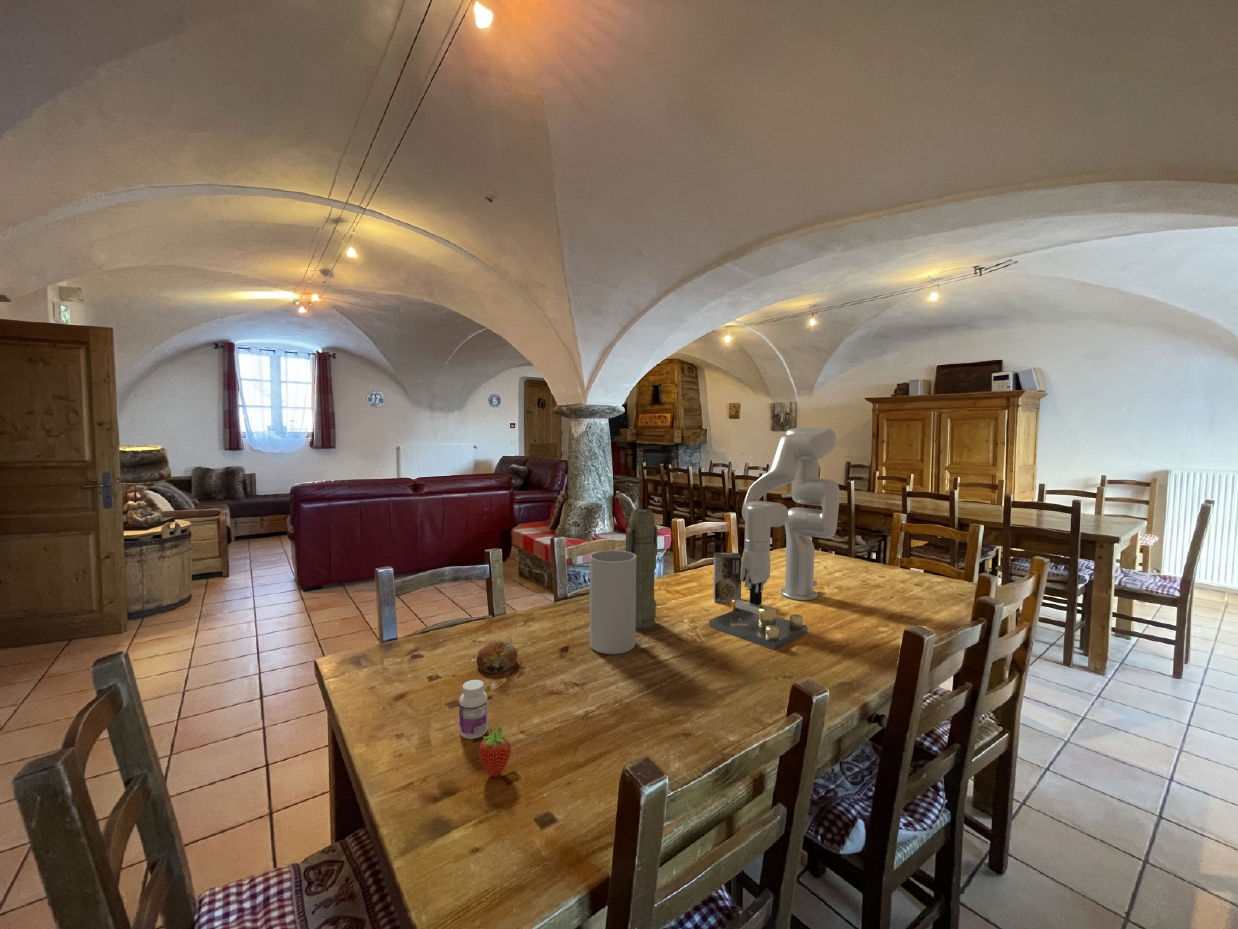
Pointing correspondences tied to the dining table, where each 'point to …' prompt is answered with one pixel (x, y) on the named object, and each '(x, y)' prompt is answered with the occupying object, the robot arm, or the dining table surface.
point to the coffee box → (727, 577)
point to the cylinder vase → (612, 601)
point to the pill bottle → (473, 710)
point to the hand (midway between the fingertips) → (755, 603)
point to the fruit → (494, 752)
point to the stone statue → (643, 564)
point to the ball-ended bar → (757, 612)
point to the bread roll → (496, 656)
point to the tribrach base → (748, 629)
